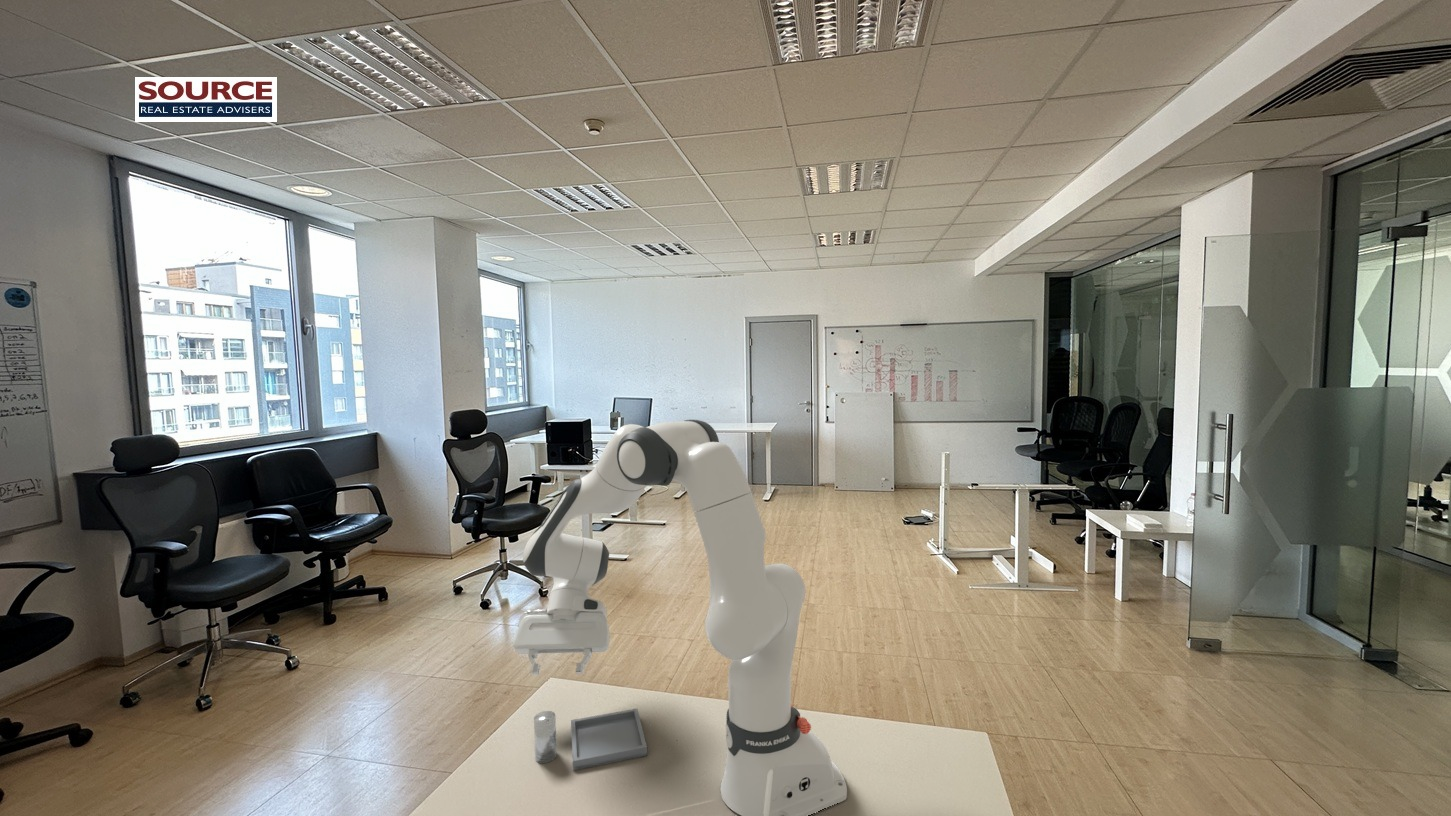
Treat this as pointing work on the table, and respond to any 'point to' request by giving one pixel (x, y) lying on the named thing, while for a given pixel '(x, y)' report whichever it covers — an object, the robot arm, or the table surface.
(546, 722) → the glossy grey cylinder
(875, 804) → the table surface
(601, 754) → the parts tray
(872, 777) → the table surface
